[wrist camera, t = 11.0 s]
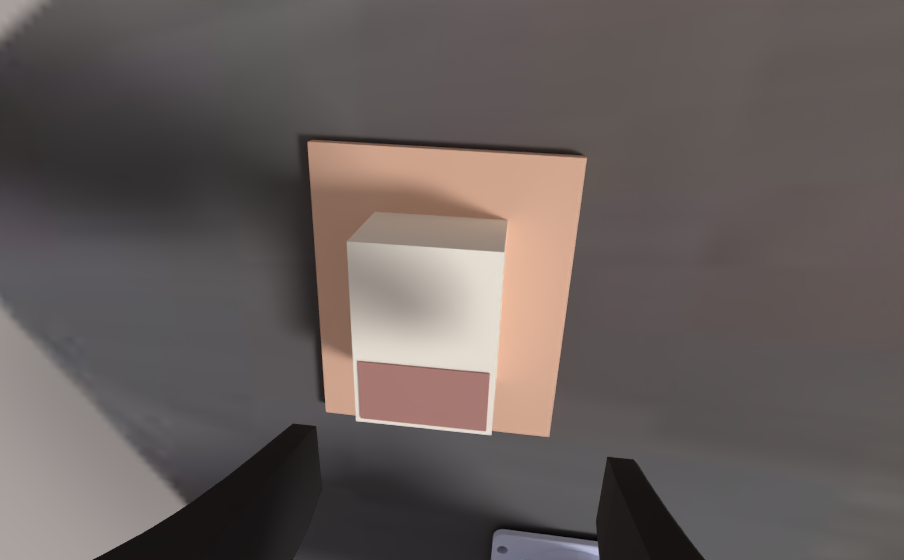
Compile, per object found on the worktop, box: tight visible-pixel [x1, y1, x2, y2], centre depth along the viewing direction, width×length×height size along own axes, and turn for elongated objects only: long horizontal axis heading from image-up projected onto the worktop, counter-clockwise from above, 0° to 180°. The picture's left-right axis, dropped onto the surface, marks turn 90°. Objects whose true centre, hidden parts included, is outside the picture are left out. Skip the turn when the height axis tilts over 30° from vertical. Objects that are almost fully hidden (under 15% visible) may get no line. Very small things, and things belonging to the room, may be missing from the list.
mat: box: [308, 140, 587, 437], centre depth 22 cm, size 12×10×1 cm
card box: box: [347, 212, 508, 435], centre depth 20 cm, size 5×7×4 cm
